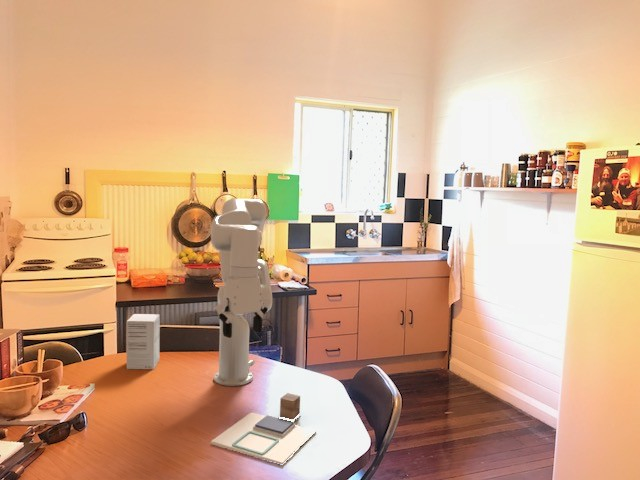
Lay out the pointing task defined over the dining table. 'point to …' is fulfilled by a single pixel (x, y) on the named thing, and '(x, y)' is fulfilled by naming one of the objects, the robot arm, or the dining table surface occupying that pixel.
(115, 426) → the dining table surface
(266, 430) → the board
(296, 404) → the stamp
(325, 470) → the dining table surface
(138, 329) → the supplement box
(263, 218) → the robot arm
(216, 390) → the dining table surface
